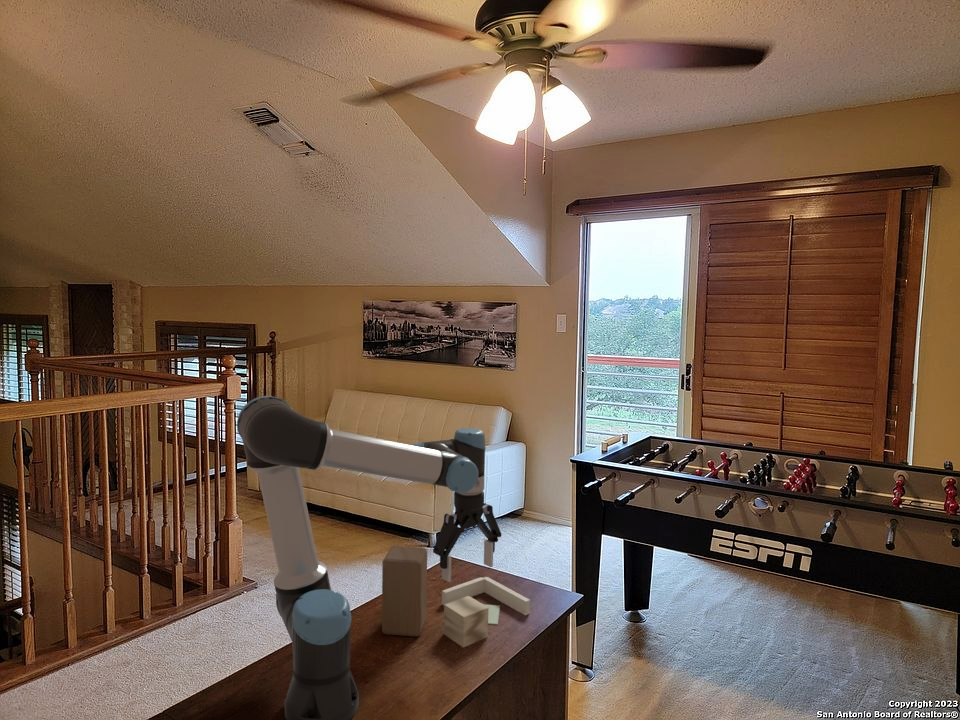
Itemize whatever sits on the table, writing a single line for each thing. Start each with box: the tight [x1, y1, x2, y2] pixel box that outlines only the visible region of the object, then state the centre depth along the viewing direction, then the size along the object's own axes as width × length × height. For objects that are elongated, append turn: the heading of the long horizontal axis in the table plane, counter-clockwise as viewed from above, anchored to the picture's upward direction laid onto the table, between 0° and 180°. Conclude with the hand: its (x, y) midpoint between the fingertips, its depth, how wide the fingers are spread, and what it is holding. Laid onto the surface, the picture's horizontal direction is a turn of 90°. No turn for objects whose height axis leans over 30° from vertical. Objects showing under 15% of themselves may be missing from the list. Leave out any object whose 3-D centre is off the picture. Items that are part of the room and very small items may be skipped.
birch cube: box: [443, 596, 489, 648], centre depth 169 cm, size 8×8×8 cm
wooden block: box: [381, 545, 428, 637], centre depth 171 cm, size 10×10×20 cm
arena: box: [441, 576, 531, 626], centre depth 182 cm, size 18×19×4 cm
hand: (467, 572), depth 167 cm, fingers open, 13 cm apart
